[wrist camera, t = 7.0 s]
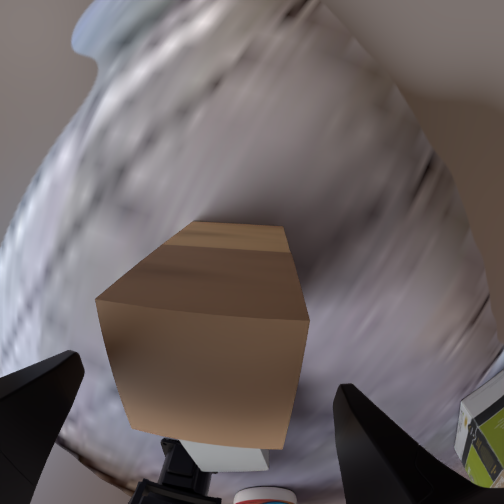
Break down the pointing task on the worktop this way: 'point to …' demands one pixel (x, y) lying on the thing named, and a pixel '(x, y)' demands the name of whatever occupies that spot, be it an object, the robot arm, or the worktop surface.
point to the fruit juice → (265, 496)
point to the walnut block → (207, 344)
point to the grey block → (227, 457)
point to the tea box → (483, 434)
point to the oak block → (232, 236)
